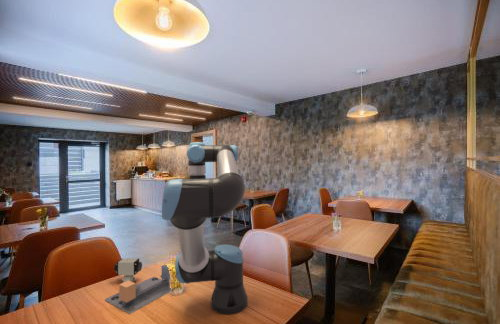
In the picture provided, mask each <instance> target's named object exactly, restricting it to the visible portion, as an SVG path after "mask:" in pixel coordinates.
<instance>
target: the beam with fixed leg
mask: <svg viewBox="0 0 500 324" xmlns="http://www.w3.org/2000/svg"><path fill="white" fill-rule="evenodd" d="M160 279H162V281H160V282H158V283H156V284H154V285H152V286H150V287H148V288H146V289H144V290H142V291H140V292H138V293H136V298H134V299H132V300H130V301H128V302H127V303H126V302H124V301H122V306H124V307H126V306H128V305H129V304H131V303H133V302H135V301H137V300H139V299H141V298H143V297H145V296H147V295H149V294H150V293H152V292H154V291H156V290H158V289H160V288H162V287H164V286H166V285H168V284H169V282H170V281H171V280H170V274H169V270H168V267H167V264H164V265H161V275H160Z"/></svg>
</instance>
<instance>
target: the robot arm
mask: <svg viewBox="0 0 500 324" xmlns="http://www.w3.org/2000/svg"><path fill="white" fill-rule="evenodd" d="M188 146H189V147H188V148H187V150H186V157H187V159H188V160H189V175H190V176H189V178H174V179H169V180H167V181H166V182H165V185H164V188H163V194H162V202H161V219H162V220H166V221H170V223H171V225H172V226H173V227H174V228H176V230H177V231H176V232H177V236H178V240H179V241H178V242H179V247H180V248H179V249H180V252H178V253H177V255H176V256H175V260H174V261H175V262H174V264H175V265H174V271H175V277H176V280H177V282H179V283H180V284H188V285H189V284H191V283H192V284H193V283H202V282H214V288H213V291H212V295H211V298H210V299H211V300H210V306H211V309H212V310H213V311H215V313H218V314H222V315H233V314H237V313H240V312H242V311H244V310H245V309H246V308H247V306H248V302H249V301H248V300H249V299H248V294H247V291H246V289H245V286H244V259H243V258H244V255H243V251H242V249H241V248H240V247H238V246H236V245H234V244H233V245H232V244H219V245H216V246H215V247H214V249H212V250H208V249H207V247H206V246H205V245H206V244H205V229H204V228H205V227H204V226H205V225H204V223H205V222H206V221H207V219H208V218H209V219H210V218H221V217H222V218H223V217H224V216H227V215H228V214H230V213H232V212H234V210H235V209H237V208H238V206H239V205H240V204H241V202H242V201H243V198H244V196H245V193H246V185H245V181H244V178H243V177H242V176H241V175H240V174H239V173H240V172H239V169H238V166H237V163H236V162H237V161H238V160H239V150H238V149H239V148H238V146H237V145H232V144H224V145H223V144H215V145H213V144H205V143H204V142H199V141H196V142H190V143H189V144H188ZM206 163H216V171H217V177H215V178H213V177H212V178H210V177H209V178H206V176H207V175H206V174H207V173H206V171H207V170H206Z"/></svg>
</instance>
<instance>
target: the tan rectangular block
mask: <svg viewBox="0 0 500 324" xmlns="http://www.w3.org/2000/svg"><path fill="white" fill-rule="evenodd" d="M135 285H136V283H135V282H134V281H133V282H131V281H129V280H128V281H126V282H124V283H123V282H122V283H119V285H118V290H119V292H118V293H119V299H120V300H122V301H124V302H126V303H127V302H128V301H130V300H132V299H134V298H136V287H135Z"/></svg>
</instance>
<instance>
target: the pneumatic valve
mask: <svg viewBox="0 0 500 324" xmlns="http://www.w3.org/2000/svg"><path fill="white" fill-rule="evenodd" d="M142 268H143V262H142V261H141V260H140V258H134V257H127V258H121V259H119V260H118V261H116V263H115V264H114V267H113V269H114V272H116V275H117V276H123V277H122V279H121V280H122V283H124V282H126V281H128V280H129V281H131V282H133V283H134V281H135V280H136V277H135V276H136V275H137V274H138V273H139V272H141V271H142Z"/></svg>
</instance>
